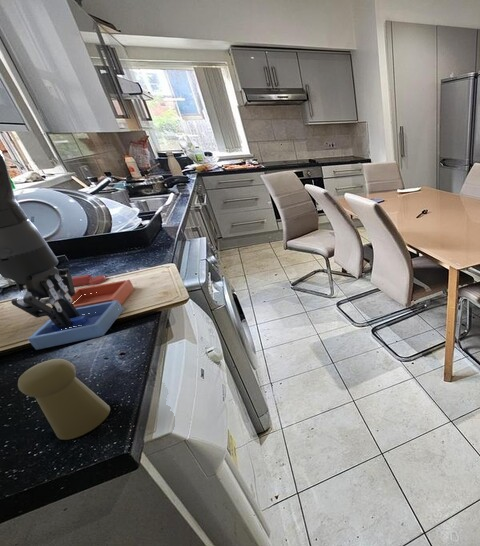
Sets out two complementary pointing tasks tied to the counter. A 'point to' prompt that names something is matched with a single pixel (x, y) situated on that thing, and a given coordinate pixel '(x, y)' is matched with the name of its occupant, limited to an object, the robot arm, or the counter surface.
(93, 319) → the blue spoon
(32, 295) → the robot arm
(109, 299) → the red bin
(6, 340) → the counter surface
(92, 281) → the red block
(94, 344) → the counter surface
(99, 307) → the blue bin
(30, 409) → the counter surface
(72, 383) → the cork
